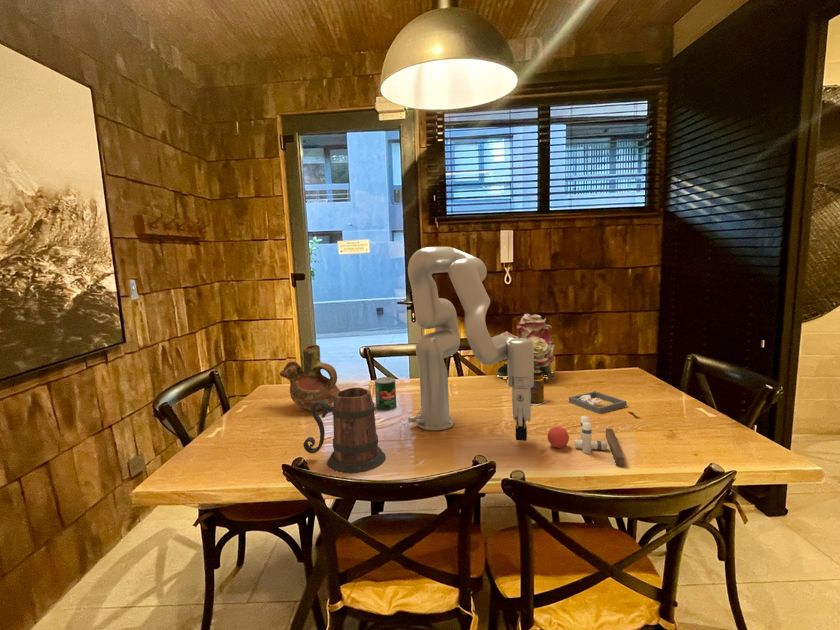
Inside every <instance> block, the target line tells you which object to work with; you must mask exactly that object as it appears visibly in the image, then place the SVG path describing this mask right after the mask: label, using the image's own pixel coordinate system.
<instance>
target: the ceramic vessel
mask: <svg viewBox="0 0 840 630" xmlns="http://www.w3.org/2000/svg"><path fill="white" fill-rule="evenodd" d="M302 351H303V353H302V354H303V357H302V359H303V368H302V366H300V364H298V362H297V361H289V362H287V364H286V365H285V367H283V370H280V372H279V377H282V378H285V379H287V380H288V381H289V394H290V399H291V400H292V401H293V402H294V404H296V405H297V406H298V407H300V408H302V409H305V410H308V411H310V412H311V406H312V405H313V404H314V402H316V401H318V400H322V401H324V402H326V403H327V404H328V405H329V407H330V406H331V405H333V404H334V396H335V393H336V392H338V391H341V390H340V388H338V386H337V385H336V384H337V381H338V374H337V370H336V368H335V367H334V366H333V365H331V364H329V363H326V362H321V347H320V345H318V344H308V345H306V346H304V347H303V350H302ZM321 370H324V371H326V372H327V374H328V375H329V378H328V377H327V376H326V375H323V373H322V371H321ZM320 410H322V406H320V405H316V411H317V412H318V411H320Z"/></svg>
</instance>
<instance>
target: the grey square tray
mask: <svg viewBox="0 0 840 630" xmlns="http://www.w3.org/2000/svg"><path fill="white" fill-rule="evenodd" d="M583 395H591V399H592V398H593V399H594V398H596V397H597V399H599V398H600V399H599V400H602V399H603V400H602V401H605V400H607V401H606V402H608V401H610V402H609V403H611V402H612V403H611V404H607V405H602V406H597V405H592V404H589V403H588V402H583V401H580V400H578V399H579V398H580V397H581V396H583ZM627 402H628V401H626V400H624V399H621V398H618V397H614V396H611V395H607V394H604V393H601V392H599V391H596V390H595V391H590V392H586V393H582V394H577V395H572V396H568V403H570V404H572V405H575V406H576V407H577V406H578V407H580V408H583V409H585V410H588V411H591V412H593V413H596V414H599V415H601V414H604V412H605V413H607V411H609V412H611V410H612V411H615V409H616V410H619V409H618V408H620V409H623V408H622V407H624V408H626V407H625V406H627V407H628V405H627V404H628V403H627ZM600 413H601V414H600Z"/></svg>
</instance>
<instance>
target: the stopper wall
mask: <svg viewBox="0 0 840 630" xmlns="http://www.w3.org/2000/svg"><path fill="white" fill-rule="evenodd" d="M605 438H606V442H607V445H608V447H609V450H610V452H612V453H611V456H612V455H613V456H612V458H613V461H614V460H615V461H614V464H615V463H616V464H615V467H622V466H624V467H625V462H626V461H625V459H626V457H625V456H624V452H623V451H622V449H621V446H620V443H619V441H618V438H617V436H616V433H615V432H614V429H613V428H605Z"/></svg>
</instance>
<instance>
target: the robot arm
mask: <svg viewBox="0 0 840 630" xmlns="http://www.w3.org/2000/svg"><path fill="white" fill-rule="evenodd" d="M487 270H488V269H487V266H486V264H485V263H484V261H483V260H482V259H480V258H478V257H476V256H474V255H471V254H469V253H467V252H464V251H461V250H459V249H456V248H454V247H453V246H452V247H451V246H427V247H422V248H420V249H418V250H416V251H415V252H414V253H413V254H412V256H410V258H409V261H408V265H407V274H408V279H409V280H408V281H409V283H410V288H411V293H412V302H413V308H414V315H415V321H416V324H417V325H418V327H419V328H421V329H423V330H430V329H431V330H432V329H434V331H432V332H429V333H426V334H424V335H422V336H421V337H419V338H418V340H417V341H416V344H415V354H416V358H417V363H418V369H419V372H418V373H419V386H420V388H419V389H420V391H419V393H420V410H419V411H418V414H416V415H414V416H413V415H412V416H408V418H407V421H408V423H409V424H411V423H415V424H416V425H417V426H418V427H419V428H420V429H423V430H426V431H435V432H436V431H443V430H447V429H449V428H451V427H454V425H455V420H454V418H453V417H452V416H450V403H449V402H450V399H449V376H448V375H449V374H448V369H447V366H446V363H445V360H444V359H446V358H448V357H451V356H453V355H455V354H456V353H457V352H458V351H459V349H460V347H461V346H460V344H461V336H460V331H459V322H458V321H459V320H458V315H457V311H456V308H455V306H454V304H453V303H452V302H451V301H450V300H448V299H446V298H441V297H439V291H438V287H437V283H436V281H435V279H434V278H433V274H438V273H448V276H449V279H450V281H451V284H452V285H453V286H452V287H453V288H454V291H455V292H456V295H457V297H458V299H459V301H460V304H461V306H462V309H463V311H464V330H465V333H464V334H465V337H466V339H467V342H468V345H469V347H470V349H471V351H472V353H473V355H474V356H475V358H476V360H477V361H478V362H479V363H481V364H483V365H485V366H491V365H495V364H497V363H498V362H499V363H500V361H503V360H505V359H507V361H506V362H507V363H506V364H508V383H507V386H508V387H510V388H511V400H512V401H511V404H512V407H511V408H512V419H513V421H515V440H516V441H525V442H526V441H527V440H528V439H527V438H528V437H527V436H528V433H527V432H528V429H527V428H528V427H527V426H526V425H527V421H528V422H530V421H531V416H532V409H531V408H532V405H531V391H530V388H531V387H533V386H534V347H533V342H532V341H531V340H530V339H526V338H513V337H509V336H505V335H500V334H497V335H494V336H492V337H491V335H490V333H489V330H488V328H487V323H486V316H487V312H488V309H489V307H490V304H491V299H490V296H489V295H488V293H487V290H486V288H485V286H484V284H483V281H485V279H486V278H487V273H488V271H487Z"/></svg>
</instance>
